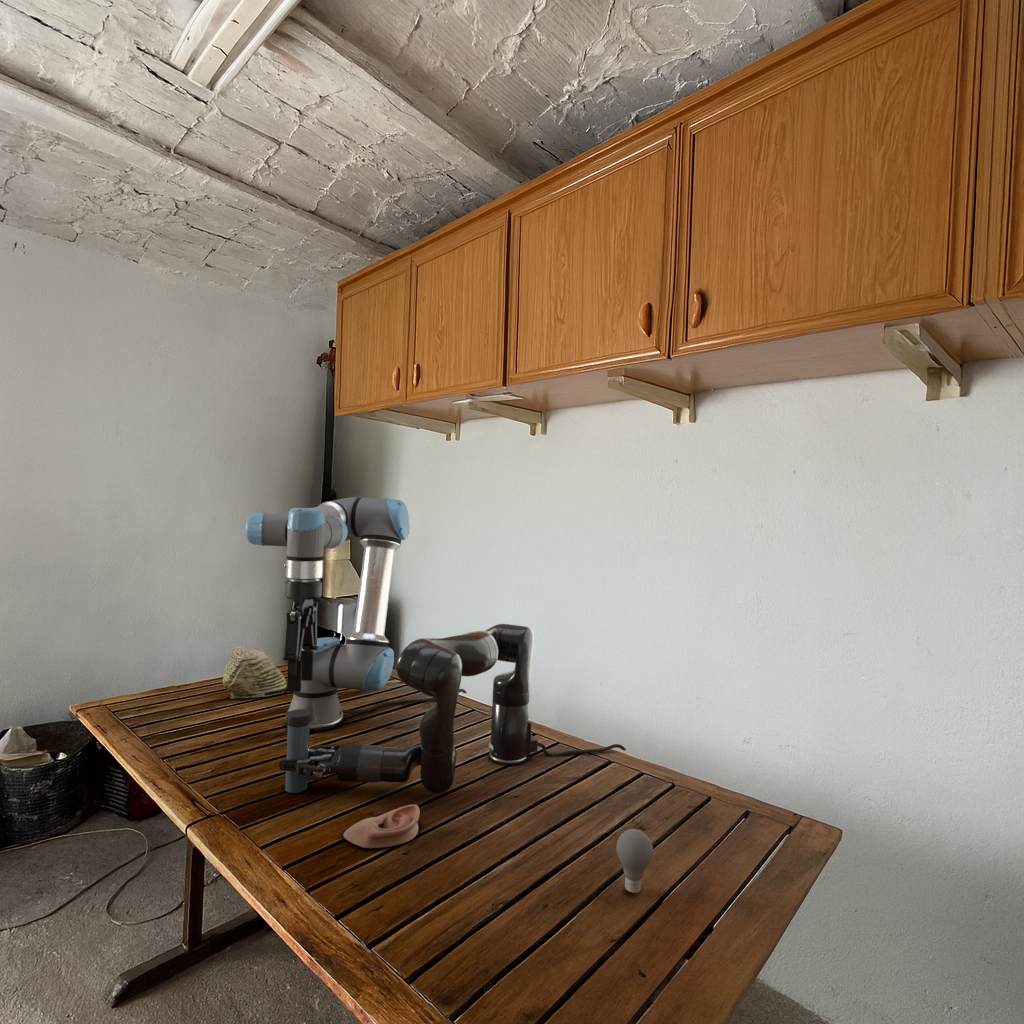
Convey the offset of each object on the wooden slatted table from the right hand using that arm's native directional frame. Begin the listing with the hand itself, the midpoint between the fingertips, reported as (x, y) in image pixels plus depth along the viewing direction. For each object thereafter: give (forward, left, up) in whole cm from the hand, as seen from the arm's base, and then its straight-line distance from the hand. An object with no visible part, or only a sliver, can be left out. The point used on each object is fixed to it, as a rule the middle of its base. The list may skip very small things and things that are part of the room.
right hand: (284, 759), depth 137 cm
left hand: (-2, +1, +16) cm, 17 cm away
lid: (-2, +1, +10) cm, 10 cm away
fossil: (+3, -68, -6) cm, 69 cm away
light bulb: (-50, +58, -6) cm, 77 cm away
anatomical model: (-15, +26, -6) cm, 31 cm away
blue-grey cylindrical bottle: (-2, +1, -6) cm, 7 cm away
